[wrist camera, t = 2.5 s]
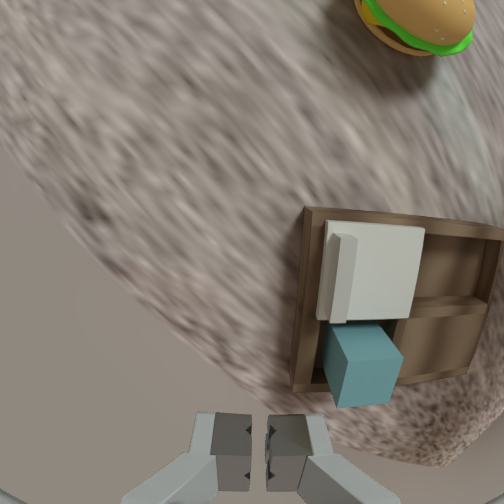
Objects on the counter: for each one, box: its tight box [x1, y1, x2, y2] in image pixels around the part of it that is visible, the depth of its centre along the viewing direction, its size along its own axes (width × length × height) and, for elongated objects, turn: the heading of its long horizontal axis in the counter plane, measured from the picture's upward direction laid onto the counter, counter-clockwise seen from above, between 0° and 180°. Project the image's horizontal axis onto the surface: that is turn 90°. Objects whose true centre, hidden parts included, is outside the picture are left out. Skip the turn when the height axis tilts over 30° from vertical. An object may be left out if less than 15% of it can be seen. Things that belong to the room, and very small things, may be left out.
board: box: [289, 206, 504, 393], centre depth 26 cm, size 20×16×4 cm
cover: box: [316, 220, 425, 323], centre depth 22 cm, size 8×8×3 cm
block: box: [320, 320, 404, 408], centre depth 24 cm, size 4×4×7 cm
